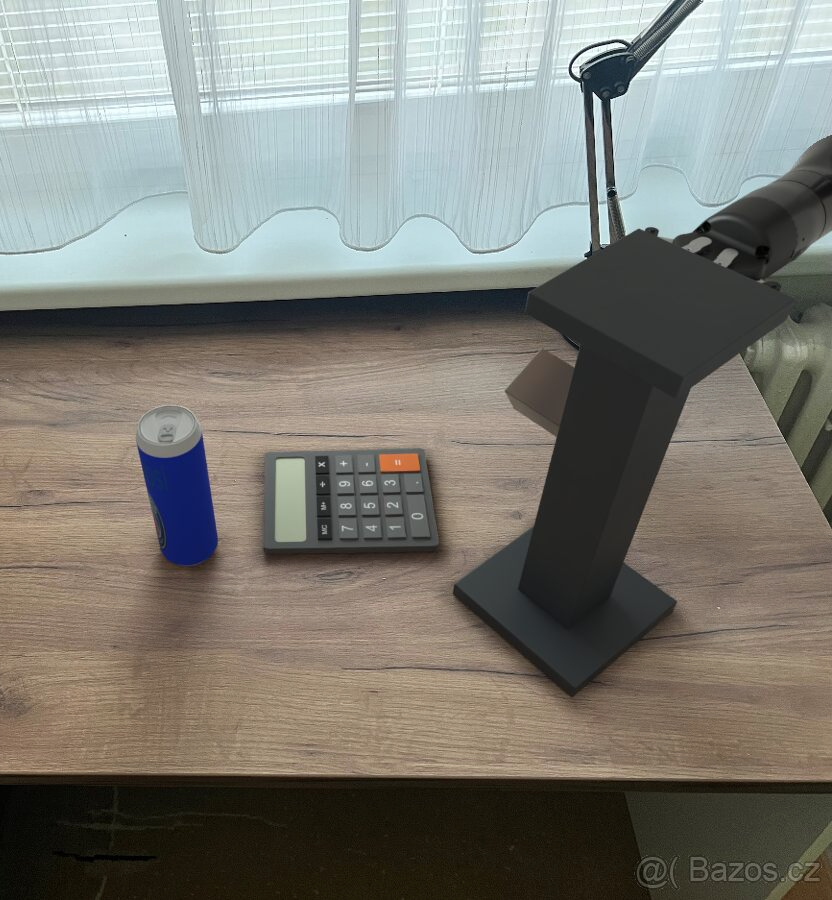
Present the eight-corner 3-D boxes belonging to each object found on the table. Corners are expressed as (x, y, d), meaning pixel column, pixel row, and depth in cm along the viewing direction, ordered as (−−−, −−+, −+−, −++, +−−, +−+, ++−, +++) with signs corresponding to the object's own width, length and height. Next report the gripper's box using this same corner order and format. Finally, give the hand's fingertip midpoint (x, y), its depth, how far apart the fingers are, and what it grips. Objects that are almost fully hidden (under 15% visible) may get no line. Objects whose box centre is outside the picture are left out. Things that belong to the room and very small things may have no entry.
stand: (672, 612, 69) (824, 299, 48) (571, 698, 65) (689, 396, 43) (550, 522, 76) (635, 215, 55) (452, 594, 72) (502, 291, 51)
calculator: (439, 544, 74) (262, 547, 75) (438, 551, 75) (263, 553, 76) (424, 446, 82) (265, 450, 84) (423, 453, 83) (265, 457, 84)
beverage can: (163, 525, 80) (137, 403, 69) (219, 523, 79) (202, 400, 68) (158, 570, 76) (130, 449, 65) (217, 569, 75) (198, 447, 65)
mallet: (735, 289, 75) (734, 264, 72) (585, 456, 76) (578, 439, 72) (653, 251, 80) (649, 226, 76) (513, 408, 80) (503, 390, 77)
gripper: (702, 171, 83) (581, 240, 77) (850, 228, 75) (728, 311, 68) (680, 239, 88) (565, 309, 82) (816, 300, 80) (700, 383, 74)
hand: (640, 310), depth 75 cm, fingers closed on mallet, 2 cm apart
